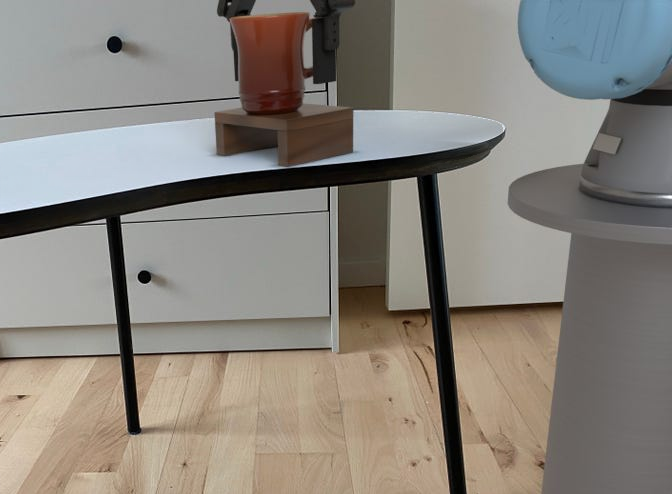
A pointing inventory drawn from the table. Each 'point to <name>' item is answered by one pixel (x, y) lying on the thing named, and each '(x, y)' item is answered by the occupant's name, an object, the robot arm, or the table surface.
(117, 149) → the table surface
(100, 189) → the table surface
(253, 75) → the mug
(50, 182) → the table surface
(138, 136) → the table surface
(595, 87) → the robot arm
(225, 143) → the shelf
